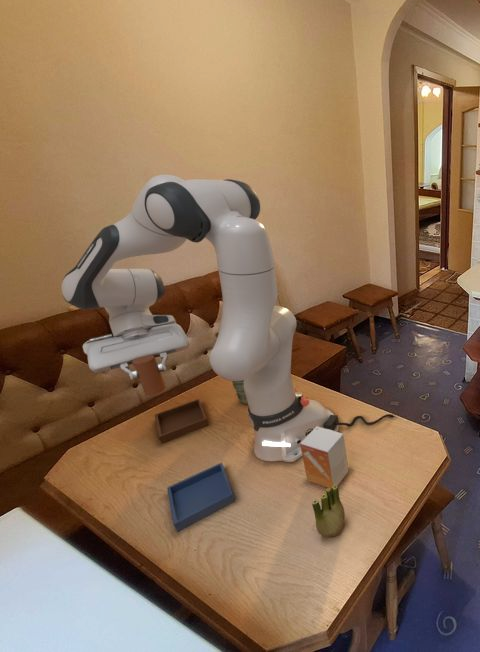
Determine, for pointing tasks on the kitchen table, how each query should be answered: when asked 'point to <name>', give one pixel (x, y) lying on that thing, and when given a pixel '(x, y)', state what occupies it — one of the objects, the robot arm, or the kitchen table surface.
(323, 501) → the fennel bulb
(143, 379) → the spice tin
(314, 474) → the small box
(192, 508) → the blue tray
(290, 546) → the kitchen table surface
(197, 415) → the walnut tray
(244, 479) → the kitchen table surface
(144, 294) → the robot arm
